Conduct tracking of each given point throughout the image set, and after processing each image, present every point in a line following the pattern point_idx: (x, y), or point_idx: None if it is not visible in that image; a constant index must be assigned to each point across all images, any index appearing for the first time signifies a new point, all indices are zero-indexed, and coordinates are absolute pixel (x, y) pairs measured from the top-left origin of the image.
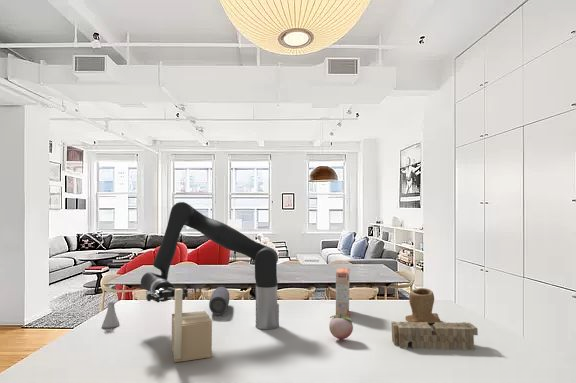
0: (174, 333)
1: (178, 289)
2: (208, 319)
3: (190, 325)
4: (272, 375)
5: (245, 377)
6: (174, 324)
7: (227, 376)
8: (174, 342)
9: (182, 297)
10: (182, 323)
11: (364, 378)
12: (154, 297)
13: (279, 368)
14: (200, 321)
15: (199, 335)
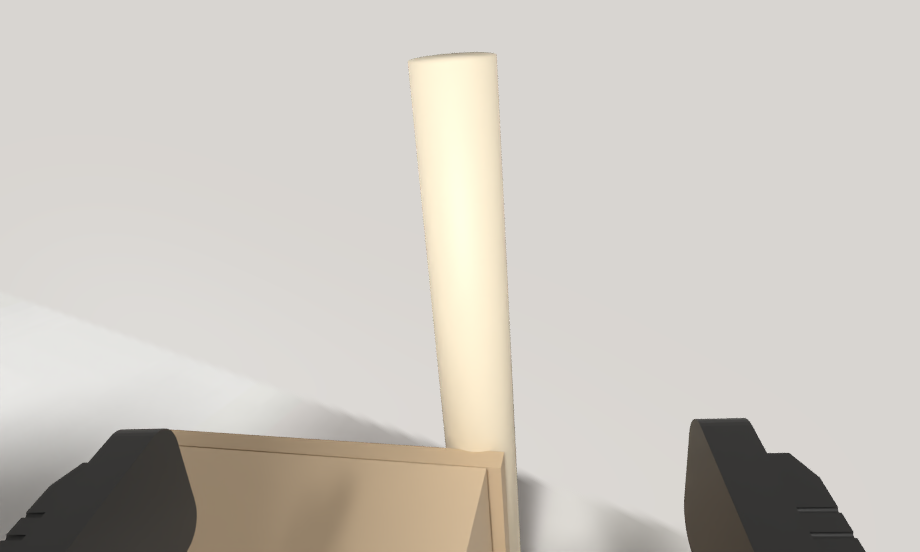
0: (516, 473)
1: (453, 58)
2: None
3: (357, 446)
4: (192, 380)
5: (281, 398)
6: (512, 412)
7: (333, 424)
8: (519, 532)
9: (188, 480)
10: (410, 477)
11: (30, 302)
12: (841, 533)
13: (113, 409)
14: (232, 466)
15: None
